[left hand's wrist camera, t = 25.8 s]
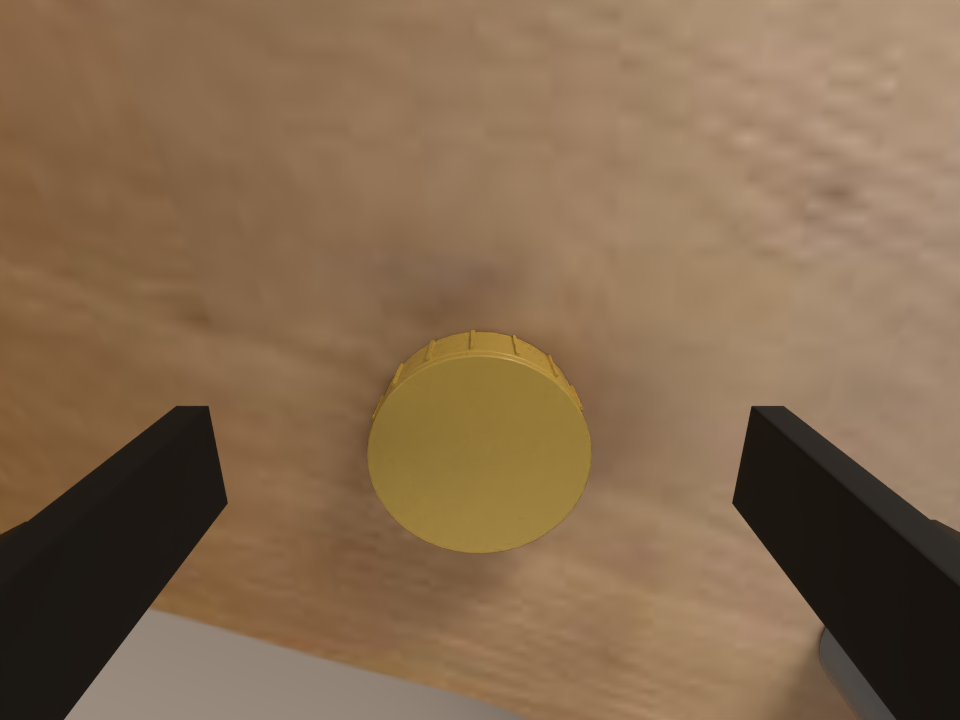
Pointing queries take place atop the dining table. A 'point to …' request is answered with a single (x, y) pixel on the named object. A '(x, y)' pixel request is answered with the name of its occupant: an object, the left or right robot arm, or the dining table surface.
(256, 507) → the dining table surface
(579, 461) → the lid
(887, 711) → the jar
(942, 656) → the left robot arm
